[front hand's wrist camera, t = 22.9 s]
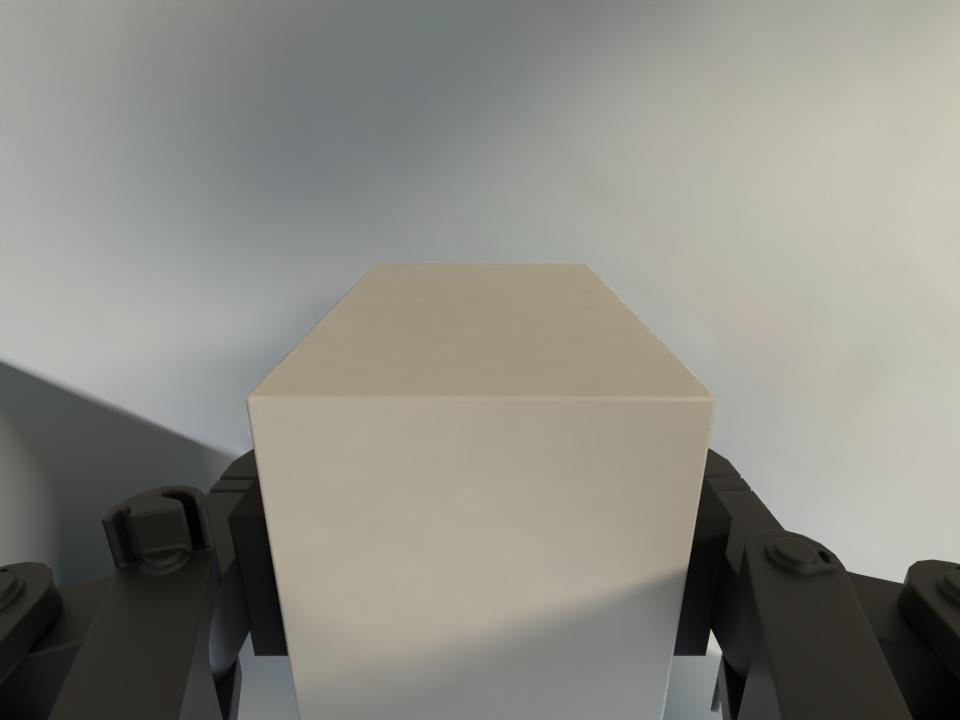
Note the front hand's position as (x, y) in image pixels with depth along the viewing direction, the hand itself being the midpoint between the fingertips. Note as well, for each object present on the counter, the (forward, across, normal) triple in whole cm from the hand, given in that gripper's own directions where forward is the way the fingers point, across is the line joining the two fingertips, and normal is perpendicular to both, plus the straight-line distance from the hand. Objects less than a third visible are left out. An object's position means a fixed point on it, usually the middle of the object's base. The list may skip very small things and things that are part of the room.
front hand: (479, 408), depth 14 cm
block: (+2, 0, 0) cm, 2 cm away
